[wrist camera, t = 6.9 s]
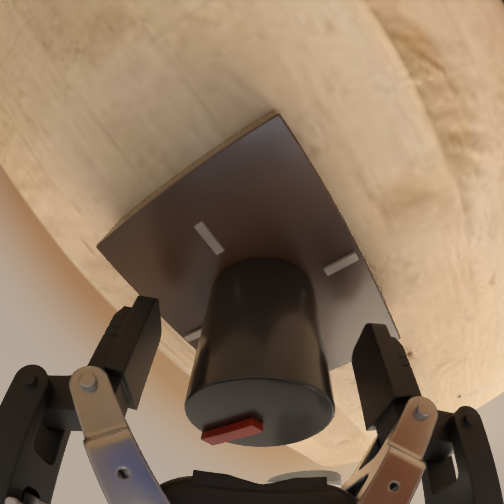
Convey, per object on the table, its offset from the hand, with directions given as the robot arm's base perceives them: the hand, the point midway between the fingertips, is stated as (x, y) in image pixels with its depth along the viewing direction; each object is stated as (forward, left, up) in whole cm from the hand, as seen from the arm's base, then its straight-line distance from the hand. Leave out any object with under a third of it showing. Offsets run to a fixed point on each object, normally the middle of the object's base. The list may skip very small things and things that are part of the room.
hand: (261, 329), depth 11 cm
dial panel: (0, 0, -4) cm, 4 cm away
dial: (0, 0, -2) cm, 2 cm away
